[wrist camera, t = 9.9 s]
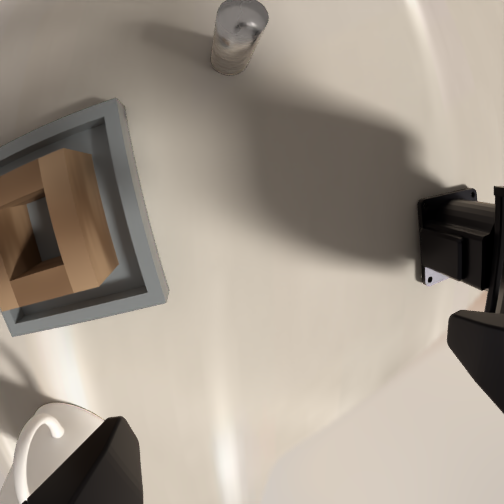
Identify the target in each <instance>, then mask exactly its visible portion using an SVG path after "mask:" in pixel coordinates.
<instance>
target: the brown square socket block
mask: <svg viewBox="0 0 504 504" xmlns="http://www.w3.org/2000/svg"><path fill="white" fill-rule="evenodd" d="M43 197H46V201H47V205H48V210H49V214H50V218H51V222H52V225H53V229H54V233H55V236H56V240H57V243H58V247H59V250H60V253H61V256H58V257H55V258H52V259H49V260H45V261H42V260H41V257H40V253H39V250H38V247H37V243H36V240H35V236H34V232H33V229H32V225H31V221H30V217H29V213H28V208H27V204H28V203H31V202H33V201H36V200H38V199H41V198H43ZM118 265H119V262H118V259H117V255H116V252H115V249H114V245H113V242H112V238H111V235H110V231H109V228H108V224H107V220H106V216H105V212H104V209H103V205H102V200H101V196H100V192H99V188H98V183H97V179H96V174H95V170H94V165H93V160H92V155H91V154H88V153H83V152H79V151H75V150H70V149H66V148H62V149H59V150H57V151H54V152H52V153H50V154H47V155H45V156H43V157H40V158H38V159H36V160H34V161H31V162H29V163H27V164H25V165H23V166H20V167H18V168H16V169H14V170H12V171H10V172H8V173H6V174H4V175H2V176H0V308H1V311H2V312H3V311H7V310H11V309H15V308H19V307H22V306H26V305H30V304H34V303H38V302H42V301H45V300H49V299H53V298H57V297H61V296H65V295H69V294H73V293H76V292H80V291H84V290H88V289H92V288H96V287H99V286H100V285H101V284H102V283H103V282H104V280H105V279H106V278H107V277H108V276H109V275H110V274H111V273H112V271H113V270H114V269H115V268H116V267H117V266H118Z"/></svg>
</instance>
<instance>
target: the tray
mask: <svg viewBox="0 0 504 504" xmlns="http://www.w3.org/2000/svg"><path fill="white" fill-rule="evenodd" d="M62 148H66V149H70V150H75V151H79V152H83V153H88V154H91V155H92V160H93V165H94V170H95V174H96V179H97V183H98V188H99V192H100V196H101V200H102V205H103V209H104V212H105V216H106V220H107V224H108V228H109V231H110V235H111V238H112V242H113V245H114V249H115V252H116V255H117V259H118V262H119V265H118V266H117V267H116V268H115V269H114V270H113V271H112V273H111V274H110V275H109V276H108V277H107V278H106V279H105V280H104V282H103V283H102V284H101V285H100V286H99V287H96V288H92V289H88V290H84V291H80V292H76V293H73V294H69V295H65V296H61V297H57V298H53V299H49V300H45V301H42V302H38V303H34V304H30V305H26V306H22V307H19V308H15V309H11V310H7V311H3V312H2V311H1V312H2V315H3V317H4V320H5V322H6V324H7V327H8V329H9V331H10V333H11V336H12V337H15V336H20V335H25V334H30V333H34V332H39V331H44V330H49V329H54V328H58V327H63V326H68V325H72V324H77V323H81V322H86V321H90V320H95V319H99V318H104V317H108V316H113V315H117V314H121V313H126V312H130V311H134V310H139V309H143V308H147V307H151V306H155V305H160V304H164V303H166V302H167V298H168V294H169V288H168V284H167V281H166V278H165V275H164V271H163V268H162V265H161V261H160V258H159V254H158V251H157V247H156V243H155V240H154V236H153V232H152V229H151V225H150V221H149V217H148V213H147V209H146V205H145V201H144V197H143V193H142V189H141V185H140V180H139V176H138V172H137V167H136V162H135V158H134V153H133V148H132V143H131V138H130V133H129V128H128V123H127V117H126V112H125V106H124V105H123V104H122V103H121V102H120V101H119V100H118V99H117V98H114V99H111V100H108V101H105V102H102V103H99V104H97V105H94V106H91V107H88V108H86V109H83V110H80V111H78V112H75V113H73V114H70V115H68V116H65V117H63V118H60V119H58V120H56V121H53V122H51V123H49V124H46V125H44V126H42V127H40V128H38V129H35V130H33V131H31V132H29V133H27V134H25V135H23V136H21V137H19V138H17V139H15V140H13V141H11V142H9V143H7V144H5V145H3V146H1V147H0V176H2V175H4V174H6V173H8V172H10V171H12V170H14V169H16V168H18V167H20V166H23V165H25V164H27V163H29V162H31V161H34V160H36V159H38V158H40V157H43V156H45V155H47V154H50V153H52V152H54V151H57V150H59V149H62ZM27 208H28V213H29V217H30V221H31V225H32V229H33V232H34V236H35V240H36V243H37V247H38V250H39V253H40V257H41V260H42V261H45V260H49V259H52V258H55V257H58V256H61V253H60V250H59V247H58V243H57V240H56V236H55V233H54V229H53V225H52V222H51V218H50V214H49V210H48V205H47V201H46V197H43V198H41V199H38V200H36V201H33V202H31V203H28V204H27ZM0 310H1V308H0Z"/></svg>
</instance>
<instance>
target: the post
mask: <svg viewBox="0 0 504 504" xmlns="http://www.w3.org/2000/svg"><path fill="white" fill-rule="evenodd" d="M268 19H269V17H268V12H267V10H266V8H265V7H264V6H263V5H262V4H261V3H260V2H258V1H256V0H226V1H225V2H223V3H222V4H221V5H220V7H219V9H218V11H217V17H216V24H215V31H214V38H213V45H212V53H211V63H212V66H213V67H214V69H215V70H216V71H218V72H219V73H221V74H224V75H236V74H239V73H241V72H242V71H243V70H244V69H245V68H246V67H247V65H248V63H249V60H250V58H251V56H252V54H253V52H254V50H255V48H256V46H257V44H258V41H259V39H260V37H261V35H262V33H263V31H264V29H265V27H266V25H267V23H268Z"/></svg>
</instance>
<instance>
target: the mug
mask: <svg viewBox="0 0 504 504" xmlns="http://www.w3.org/2000/svg"><path fill="white" fill-rule="evenodd" d="M103 422H104V420H103V419H101V418H100V417H98V416H97V415H95V414H93V413H91V412H89V411H87V410H85V409H83V408H80V407H77V406H74V405H71V404H66V403H49V404H45V405H43V406H41V407H40V408H39V409H38V410H37V411H36V412H35V414H34V416H33V417H32V418H31V419H29V420H28V422H27V423H26V424H25V426H24V427H23V429H22V431H21V433H20V435H19V438H18V441H17V444H16V448H15V453H14V460H13V464H12V467H11V469H10V471H9V473H8V475H7V477H6V480H5V482H4V484H3V487H2V489H1V491H0V504H22V503H23V502H24V501H25V500H27V498H28V497H29V496H30V495H31V494H32V493H33V492H34V491H35V490H36V489H37V488H38V487H39V486H40V485H41V484H42V483H43V482H44V481H45V480H46V479H47V478H48V477H49V476H50V475H51V474H52V473H53V472H54V471H55V470H56V469H57V468H58V467H59V466H60V465H61V464H62V463H63V462H64V461H65V460H66V459H67V458H68V457H69V456H70V455H71V454H72V453H73V452H74V451H75V450H76V449H77V448H78V447H79V446H80V445H81V444H82V443H83V442H84V441H85V440H86V439H87V438H88V437H89V436H90V435H91V434H92V433H93V432H94V431H95V430H96V429H97V428H98V427H99V426H100V425H101V424H102V423H103Z"/></svg>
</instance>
